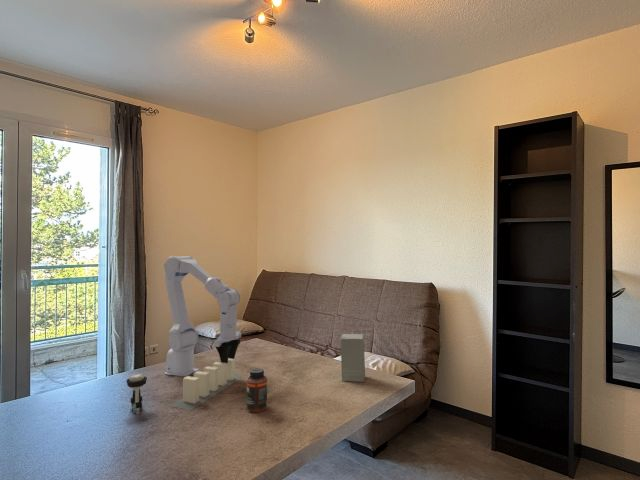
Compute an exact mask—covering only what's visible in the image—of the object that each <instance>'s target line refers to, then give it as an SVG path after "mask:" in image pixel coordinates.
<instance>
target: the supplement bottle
mask: <svg viewBox="0 0 640 480" xmlns="http://www.w3.org/2000/svg"><path fill="white" fill-rule="evenodd" d="M267 408H268V379H267V377H266V376H265V371H264V368H260V367H257V368H256V367H255V368H251V369H250V371H249V377H247V379H246V410H247V411H249V412H250V413H261V412H263V411H265V410H267Z"/></svg>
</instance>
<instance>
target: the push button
mask: <svg viewBox="0 0 640 480" xmlns="http://www.w3.org/2000/svg"><path fill="white" fill-rule="evenodd" d="M147 380H148V377H147V376H145V375H144V373H134V374H131V375H130V376H129V378H127V379H126V386H127V387H129V388H131V389H133V390H132V397H130V411H133V413H136V415H139V414H140V412H141V409H143V396H142V395H141V388H142V387H143V386H144V385H147Z"/></svg>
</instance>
